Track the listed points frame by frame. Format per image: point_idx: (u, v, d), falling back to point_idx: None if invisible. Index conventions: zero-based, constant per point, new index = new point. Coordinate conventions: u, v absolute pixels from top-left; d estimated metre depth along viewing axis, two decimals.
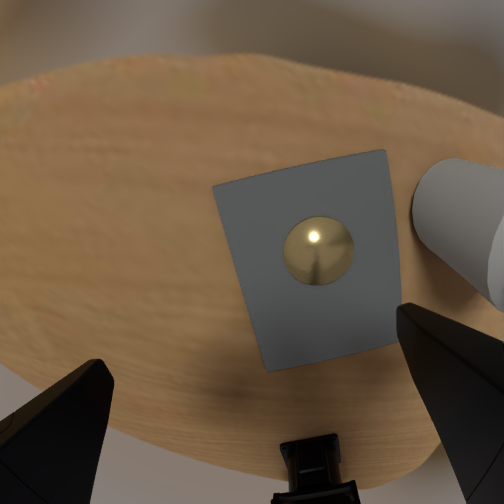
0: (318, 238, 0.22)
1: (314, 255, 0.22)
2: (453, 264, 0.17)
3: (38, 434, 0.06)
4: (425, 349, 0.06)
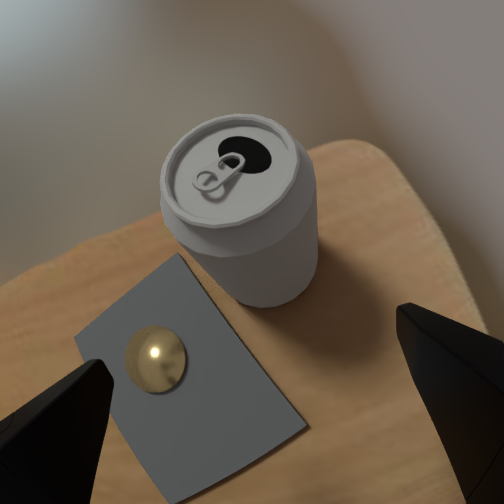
0: (147, 346, 0.22)
1: (150, 363, 0.22)
2: (219, 279, 0.18)
3: (38, 434, 0.06)
4: (425, 349, 0.06)
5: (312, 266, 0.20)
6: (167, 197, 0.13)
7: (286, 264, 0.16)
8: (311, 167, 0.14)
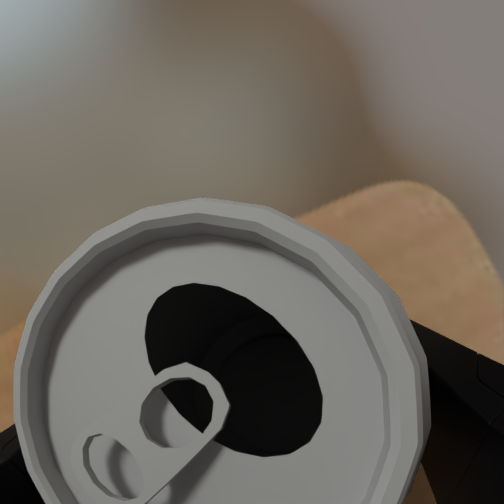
0: None
1: None
2: None
3: None
4: None
5: None
6: (32, 472, 0.03)
7: None
8: (425, 384, 0.04)
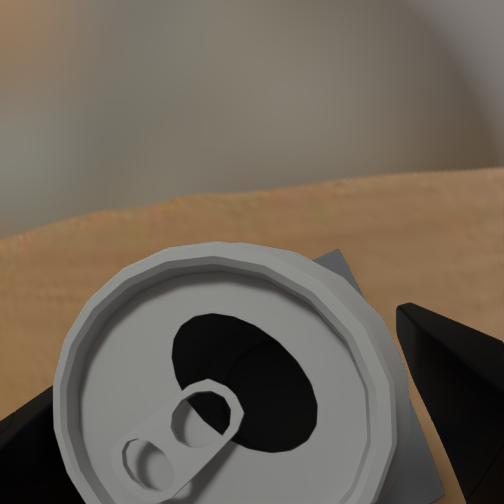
0: None
1: None
2: None
3: (38, 434, 0.06)
4: (425, 349, 0.06)
5: None
6: (72, 473, 0.04)
7: None
8: (405, 393, 0.05)
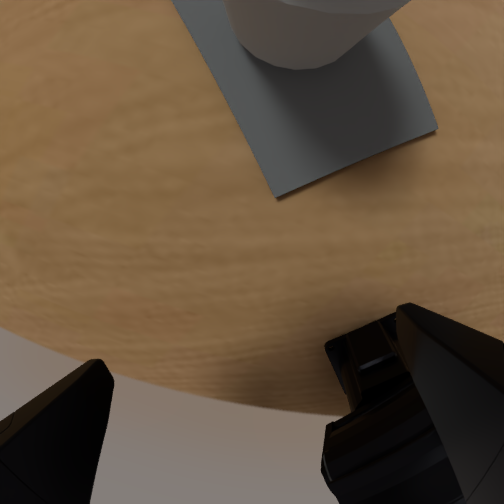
0: None
1: None
2: (275, 39, 0.11)
3: (38, 434, 0.06)
4: (425, 349, 0.06)
5: None
6: None
7: (374, 27, 0.09)
8: None
